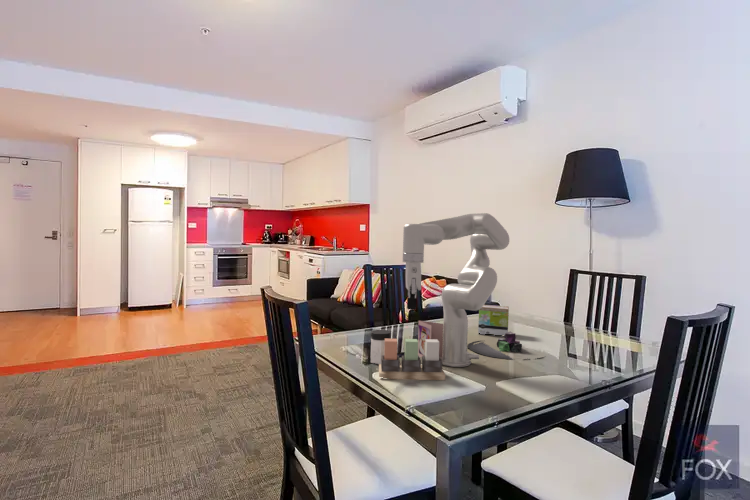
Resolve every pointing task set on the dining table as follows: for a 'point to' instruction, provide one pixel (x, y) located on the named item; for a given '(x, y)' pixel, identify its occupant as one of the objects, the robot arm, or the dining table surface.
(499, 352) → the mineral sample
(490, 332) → the tea box
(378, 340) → the jar
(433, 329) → the greeting card
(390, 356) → the pink upright block
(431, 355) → the grey button
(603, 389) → the dining table surface
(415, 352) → the pale green upright block
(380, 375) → the base
